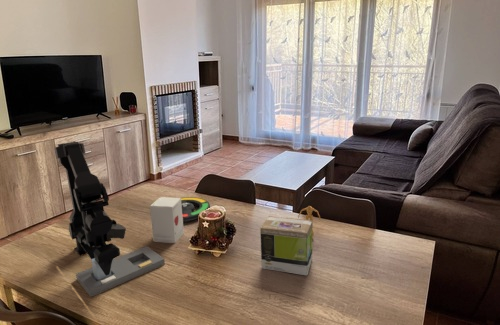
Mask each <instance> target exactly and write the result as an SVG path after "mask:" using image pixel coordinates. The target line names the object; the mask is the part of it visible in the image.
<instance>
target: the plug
mask: <svg viewBox="0 0 500 325" xmlns="http://www.w3.org/2000/svg"><path fill="white" fill-rule="evenodd" d="M90 259H91V258H90ZM90 261H91V266H92V267H91V268H93V274H94V279H95V280H96V281H99V280H101V279H104V278H106V277H108V276H111V275H112V274H111V269H110V274H109V275H107V276H106V275H105V274H104V272H103V271H102V269H101V268H100V266H99V265H98V263H97V262H96V260H95V258H94V259H91V260H90Z"/></svg>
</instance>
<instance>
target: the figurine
mask: <svg viewBox="0 0 500 325" xmlns="http://www.w3.org/2000/svg"><path fill="white" fill-rule="evenodd" d="M303 211H306V213H307V214H306V215H305V220H312V222H313V221H314V220H313V219H314V218H313V217H314V216H313V214H312V213H313V211H314V212H316V213H317V217H318V220H319V221H321V215H320V214H319V211H318V210H317V209H315V208H314V207H312V206H311V205H308V206H307V207H305V208H302V209H301V210H300V212H299V214H298V216H297V219H300V215H301V214H302V212H303ZM314 235H315V231H314V229H313V228H312V238H313V237H314Z"/></svg>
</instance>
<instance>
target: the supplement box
mask: <svg viewBox="0 0 500 325" xmlns="http://www.w3.org/2000/svg"><path fill="white" fill-rule="evenodd" d="M181 198H182V197H167V196H166V197H165V196H162V197H161V196H160V197H159V198H157V199H156V200H155V201H154V202H153V203H152V204H151V205H149V210H150V211H149V212H150V219H151V221H150V222H151V230H152V238H153V240H152V241H153V242H154V243H155V242H156V243H166V244H167V243H168V244H177V242H178V241H179V240H180V238H181V237H183V235H185V234H184V233H185V231H184V222H183V216H182V205H181Z"/></svg>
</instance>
